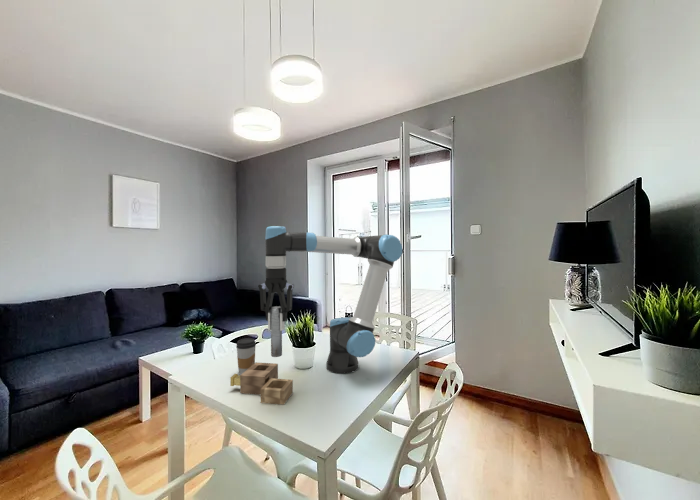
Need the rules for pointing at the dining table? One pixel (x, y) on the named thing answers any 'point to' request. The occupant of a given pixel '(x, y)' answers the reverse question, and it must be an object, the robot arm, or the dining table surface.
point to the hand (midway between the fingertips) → (276, 329)
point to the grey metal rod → (276, 332)
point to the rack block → (276, 391)
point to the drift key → (236, 380)
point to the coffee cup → (245, 354)
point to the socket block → (257, 377)
